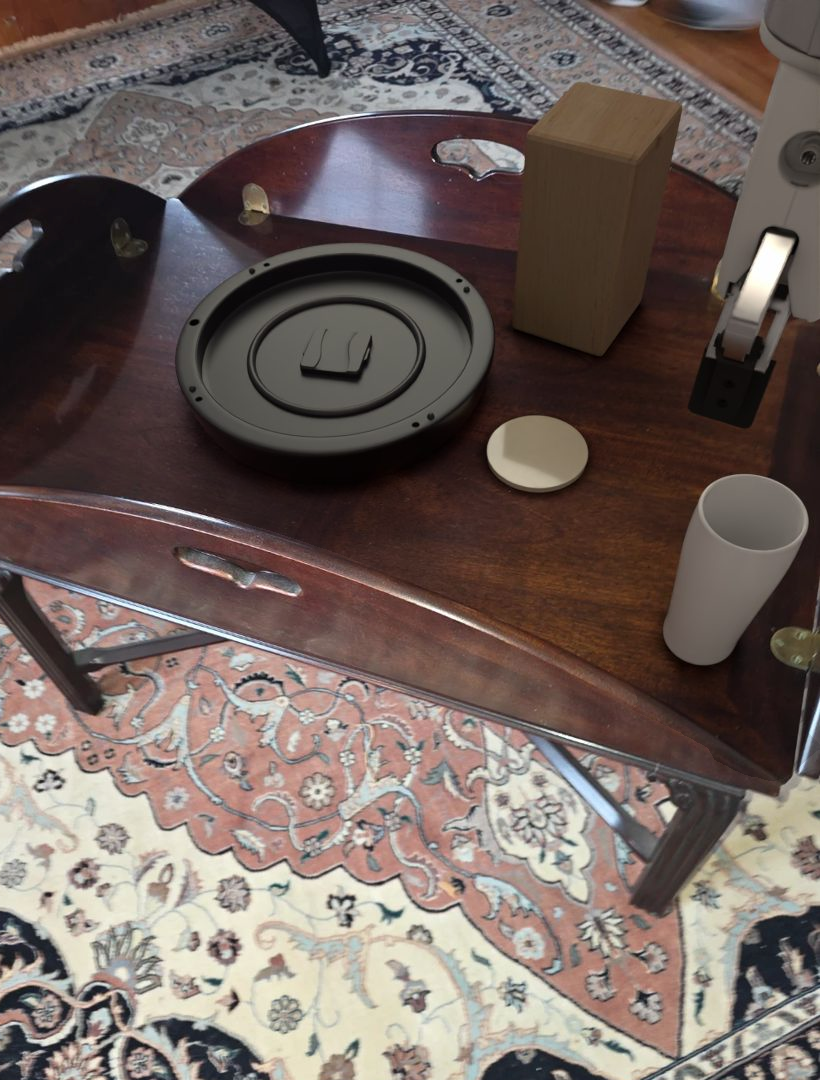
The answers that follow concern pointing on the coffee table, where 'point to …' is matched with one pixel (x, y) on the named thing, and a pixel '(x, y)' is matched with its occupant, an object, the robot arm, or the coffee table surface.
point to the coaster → (537, 453)
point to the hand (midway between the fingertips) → (748, 358)
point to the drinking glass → (731, 563)
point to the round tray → (336, 360)
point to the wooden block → (590, 213)
